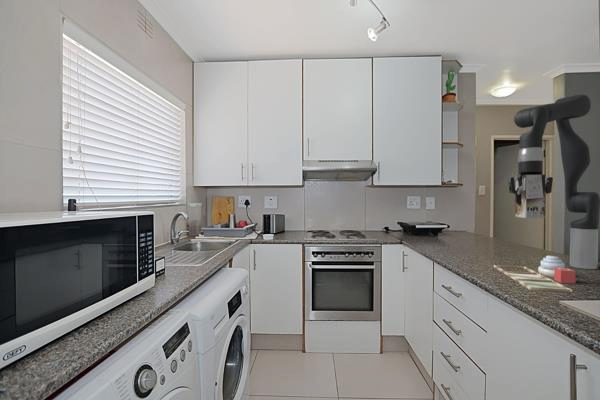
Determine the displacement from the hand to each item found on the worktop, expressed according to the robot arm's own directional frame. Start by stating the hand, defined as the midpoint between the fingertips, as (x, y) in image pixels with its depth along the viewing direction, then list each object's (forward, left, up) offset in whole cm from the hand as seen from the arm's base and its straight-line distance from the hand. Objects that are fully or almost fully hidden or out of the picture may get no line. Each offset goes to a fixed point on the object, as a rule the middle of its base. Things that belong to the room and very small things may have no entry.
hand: (529, 204), depth 121 cm
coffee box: (0, 0, -5) cm, 5 cm away
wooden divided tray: (-3, +1, -28) cm, 29 cm away
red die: (0, +12, -28) cm, 31 cm away
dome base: (-11, +13, -28) cm, 33 cm away
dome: (-11, +13, -26) cm, 31 cm away
